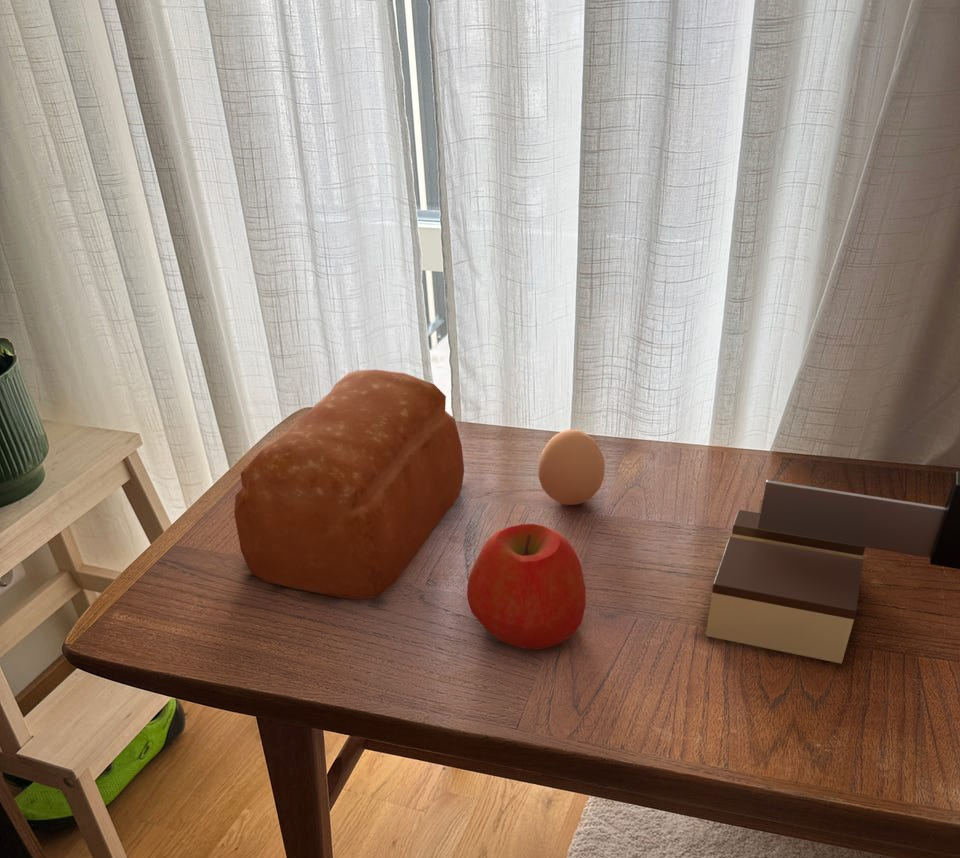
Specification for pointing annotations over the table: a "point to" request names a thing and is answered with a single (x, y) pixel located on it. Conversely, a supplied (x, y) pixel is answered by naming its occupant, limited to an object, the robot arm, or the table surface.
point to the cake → (785, 599)
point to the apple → (528, 587)
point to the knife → (866, 520)
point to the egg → (571, 467)
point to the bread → (351, 487)
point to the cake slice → (789, 537)
